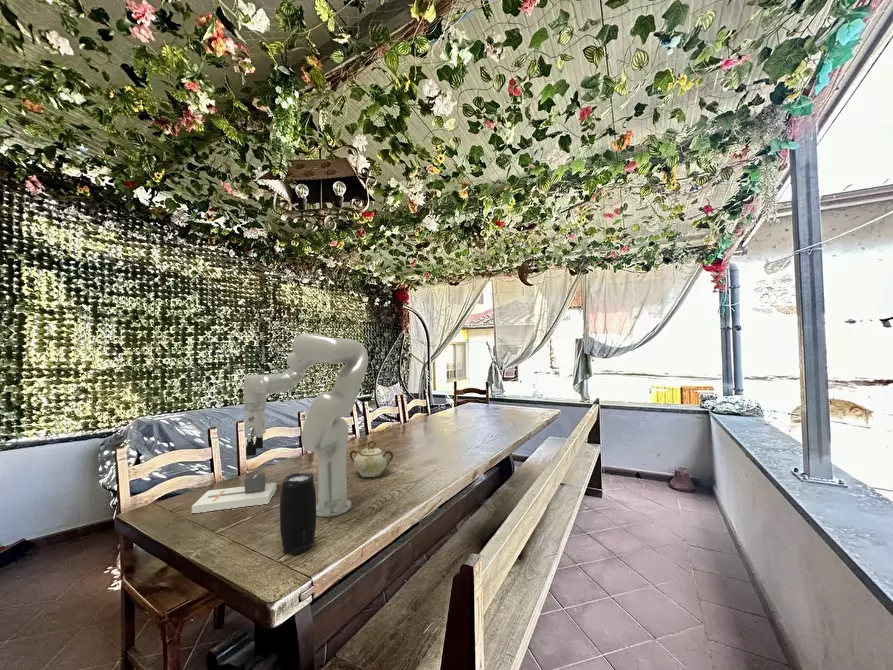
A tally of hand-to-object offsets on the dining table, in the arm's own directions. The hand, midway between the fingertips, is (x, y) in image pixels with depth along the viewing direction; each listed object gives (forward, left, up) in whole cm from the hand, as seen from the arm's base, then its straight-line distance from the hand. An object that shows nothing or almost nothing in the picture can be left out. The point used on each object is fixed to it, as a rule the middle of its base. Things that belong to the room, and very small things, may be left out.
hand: (254, 451), depth 129 cm
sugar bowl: (+11, -44, -18) cm, 49 cm away
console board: (0, +6, -18) cm, 19 cm away
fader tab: (0, 0, -14) cm, 14 cm away
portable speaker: (-41, -21, -18) cm, 50 cm away
